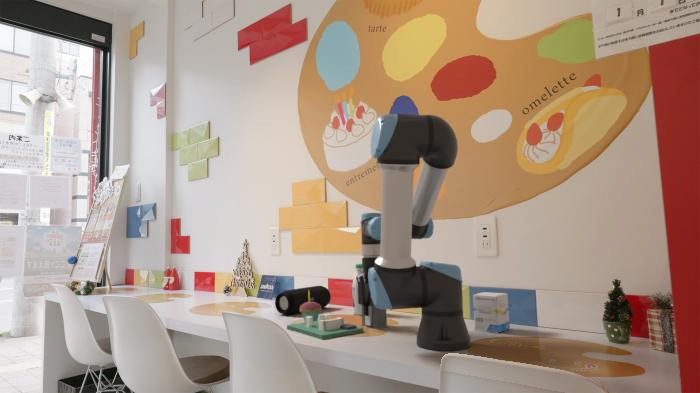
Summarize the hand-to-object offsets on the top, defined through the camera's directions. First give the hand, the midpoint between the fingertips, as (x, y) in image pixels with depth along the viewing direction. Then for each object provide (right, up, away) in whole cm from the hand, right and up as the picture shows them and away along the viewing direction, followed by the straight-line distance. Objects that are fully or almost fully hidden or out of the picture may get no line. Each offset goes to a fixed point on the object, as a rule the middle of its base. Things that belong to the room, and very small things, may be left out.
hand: (374, 323), depth 157 cm
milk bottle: (-4, -3, +26) cm, 26 cm away
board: (-17, -1, -6) cm, 18 cm away
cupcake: (-23, -3, +12) cm, 26 cm away
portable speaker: (-28, -5, +35) cm, 45 cm away
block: (0, -1, 0) cm, 1 cm away
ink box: (+38, +1, -10) cm, 39 cm away
